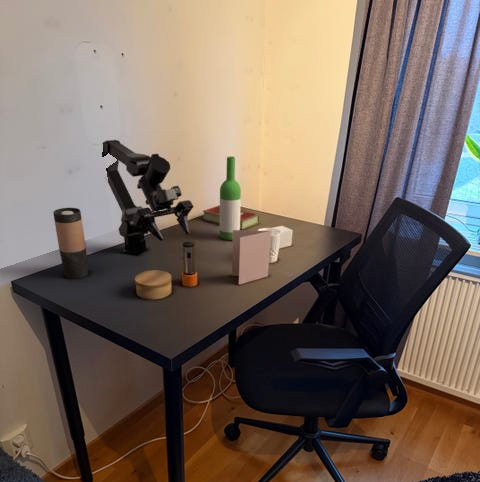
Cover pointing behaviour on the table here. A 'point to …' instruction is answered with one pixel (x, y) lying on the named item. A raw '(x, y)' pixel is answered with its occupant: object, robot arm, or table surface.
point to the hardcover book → (245, 217)
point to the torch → (189, 265)
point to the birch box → (153, 284)
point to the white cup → (273, 243)
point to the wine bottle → (229, 202)
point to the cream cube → (285, 236)
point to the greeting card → (250, 254)
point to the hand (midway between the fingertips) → (175, 237)
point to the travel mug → (71, 242)
